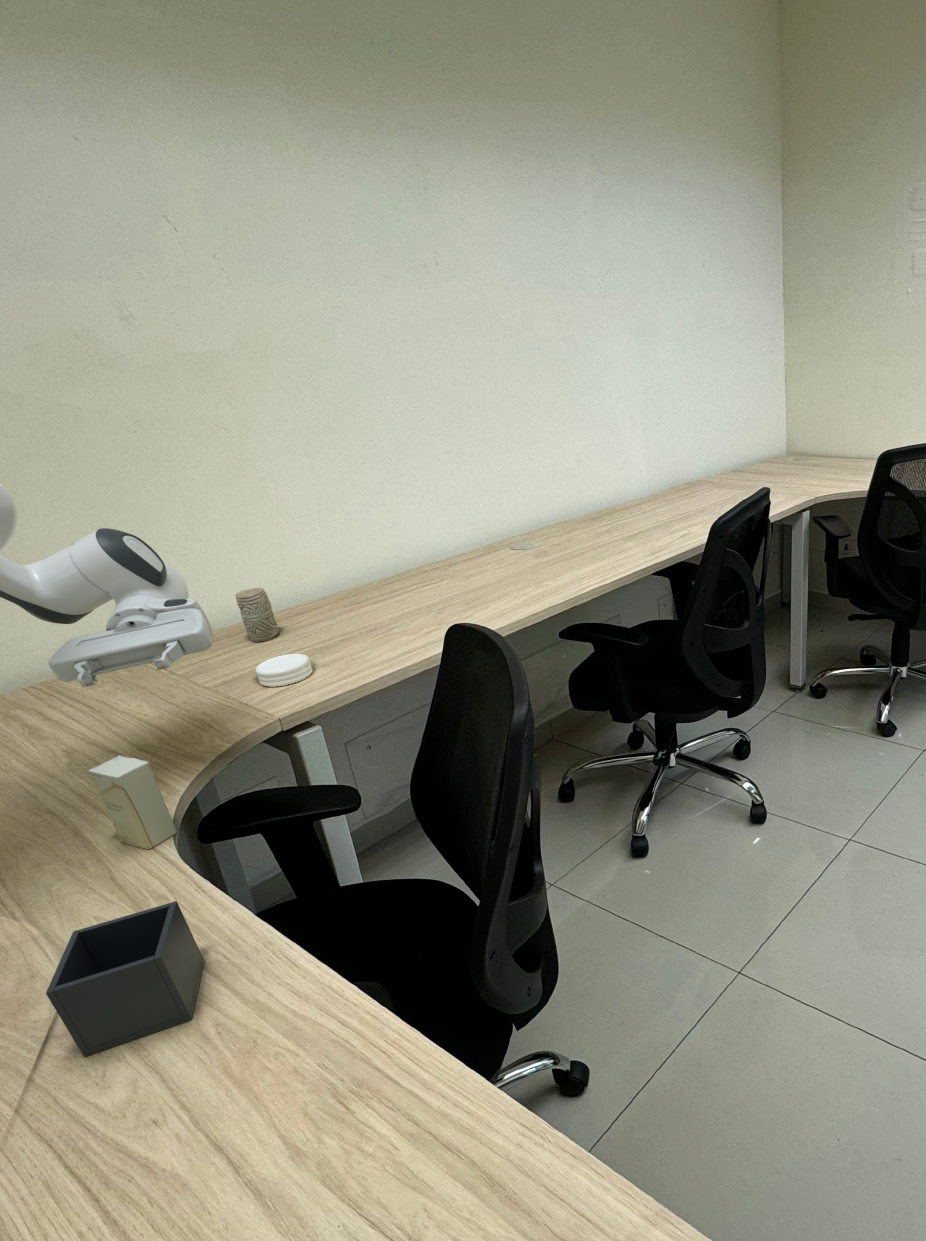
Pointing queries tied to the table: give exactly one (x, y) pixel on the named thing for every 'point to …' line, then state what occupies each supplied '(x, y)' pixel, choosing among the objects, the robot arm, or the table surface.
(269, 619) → the carving
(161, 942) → the waste bin
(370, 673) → the table surface
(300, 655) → the white ridged disc
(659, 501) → the table surface
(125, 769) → the cosmetic box
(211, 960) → the table surface
